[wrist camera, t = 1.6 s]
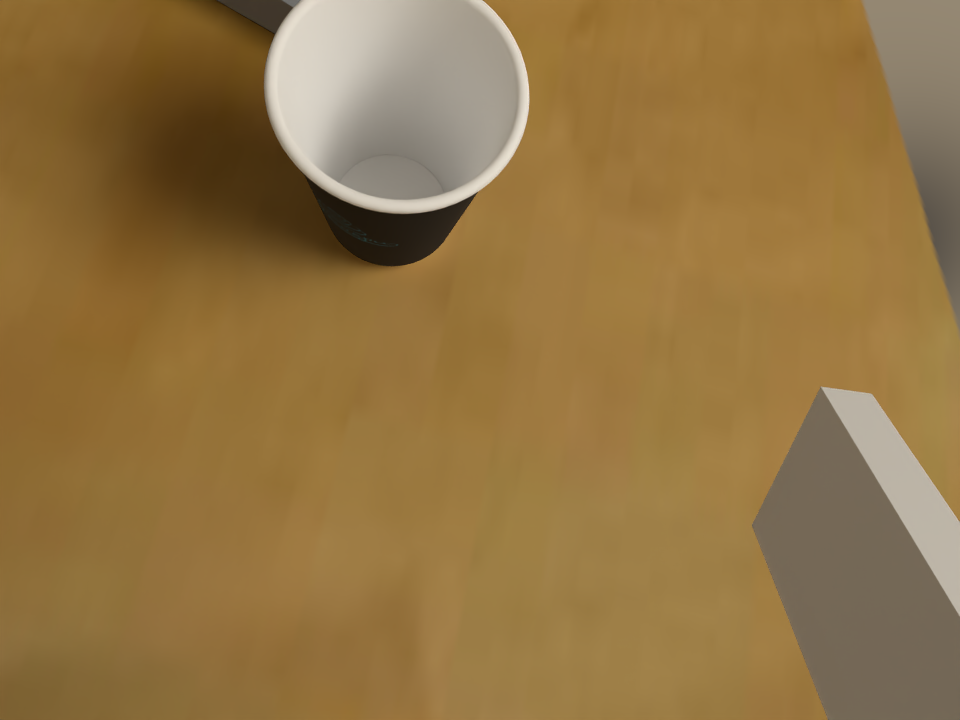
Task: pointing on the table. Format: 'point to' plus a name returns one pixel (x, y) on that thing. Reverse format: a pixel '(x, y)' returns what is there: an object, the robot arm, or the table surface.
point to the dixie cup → (396, 114)
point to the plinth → (263, 11)
